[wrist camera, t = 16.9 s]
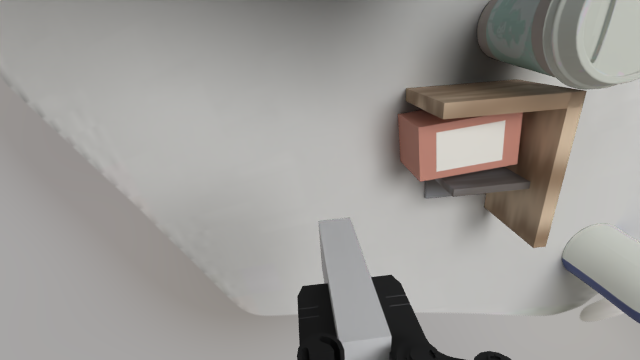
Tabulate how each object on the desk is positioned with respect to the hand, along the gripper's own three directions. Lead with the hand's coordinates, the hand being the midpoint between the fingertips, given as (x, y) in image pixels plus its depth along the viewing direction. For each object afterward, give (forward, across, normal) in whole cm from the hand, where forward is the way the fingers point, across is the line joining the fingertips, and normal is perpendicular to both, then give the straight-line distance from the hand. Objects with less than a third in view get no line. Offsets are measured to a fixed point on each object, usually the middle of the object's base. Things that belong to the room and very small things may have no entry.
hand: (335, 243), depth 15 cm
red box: (+18, +14, -1) cm, 23 cm away
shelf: (+18, +16, -3) cm, 24 cm away
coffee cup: (+18, +19, +9) cm, 28 cm away
